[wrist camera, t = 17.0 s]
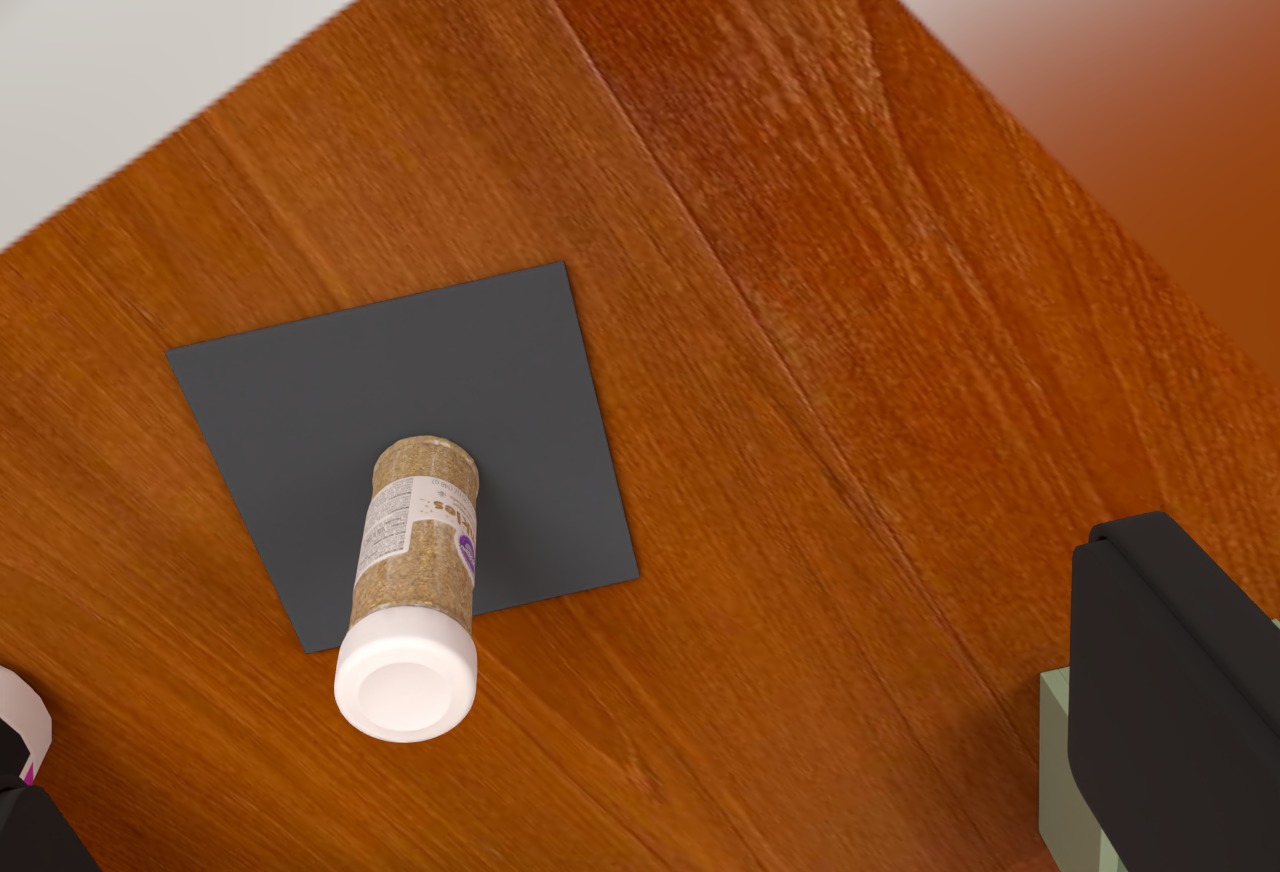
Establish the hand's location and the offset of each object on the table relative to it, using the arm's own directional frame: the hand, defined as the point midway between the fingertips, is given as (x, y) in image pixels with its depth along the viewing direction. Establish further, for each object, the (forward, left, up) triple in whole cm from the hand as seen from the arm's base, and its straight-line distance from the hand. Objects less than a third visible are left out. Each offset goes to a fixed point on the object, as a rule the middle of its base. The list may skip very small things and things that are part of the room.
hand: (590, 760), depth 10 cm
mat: (+8, +16, -33) cm, 38 cm away
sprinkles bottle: (+8, +16, -33) cm, 38 cm away
